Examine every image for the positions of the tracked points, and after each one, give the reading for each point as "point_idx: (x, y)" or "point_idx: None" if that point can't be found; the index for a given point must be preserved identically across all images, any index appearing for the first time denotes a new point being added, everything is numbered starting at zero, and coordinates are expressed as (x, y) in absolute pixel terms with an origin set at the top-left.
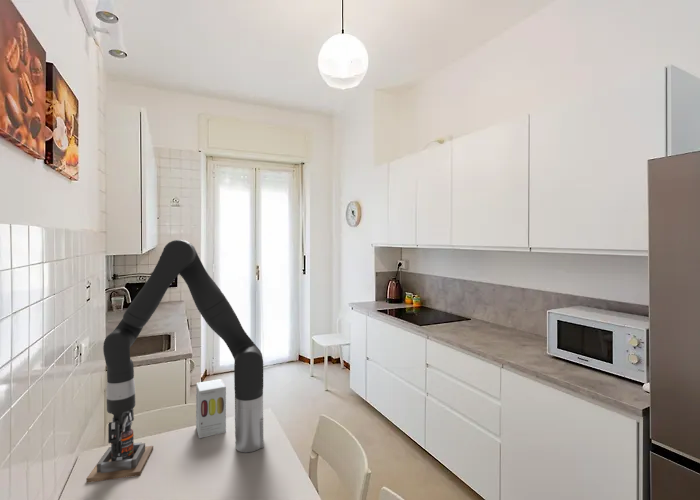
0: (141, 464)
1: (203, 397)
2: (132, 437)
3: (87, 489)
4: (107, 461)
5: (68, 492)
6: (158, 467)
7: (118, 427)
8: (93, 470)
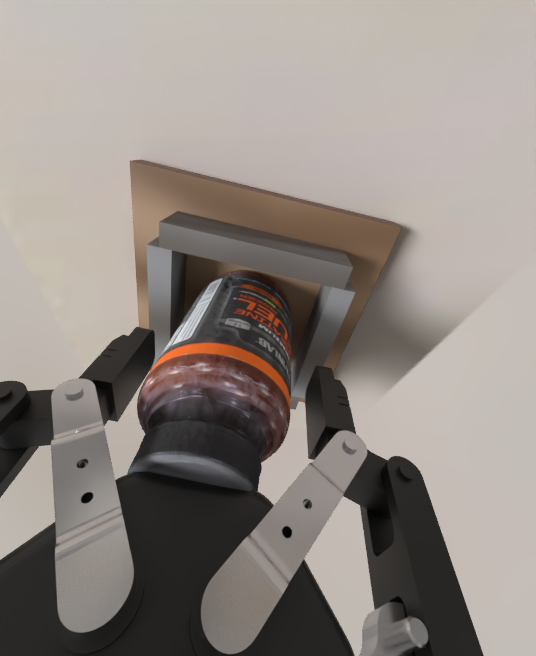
0: (329, 224)
1: None
2: (241, 342)
3: (361, 388)
4: None
5: None
6: (375, 115)
7: (450, 629)
8: None
